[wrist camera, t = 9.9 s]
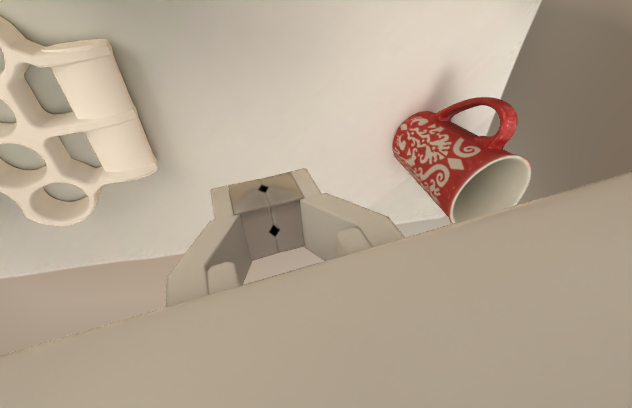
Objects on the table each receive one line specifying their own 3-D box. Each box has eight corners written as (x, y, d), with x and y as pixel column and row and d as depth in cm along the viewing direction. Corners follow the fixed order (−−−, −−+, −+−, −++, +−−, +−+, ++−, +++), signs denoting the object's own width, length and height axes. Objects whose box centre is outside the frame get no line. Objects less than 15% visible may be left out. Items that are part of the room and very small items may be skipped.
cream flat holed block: (169, 186, 36) (15, 219, 33) (91, -11, 25) (-150, 11, 22) (168, 203, 34) (1, 241, 31) (81, -7, 23) (-193, 19, 20)
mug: (431, 171, 47) (501, 231, 37) (376, 168, 44) (436, 233, 34) (472, 80, 41) (572, 122, 30) (411, 67, 37) (500, 110, 27)
